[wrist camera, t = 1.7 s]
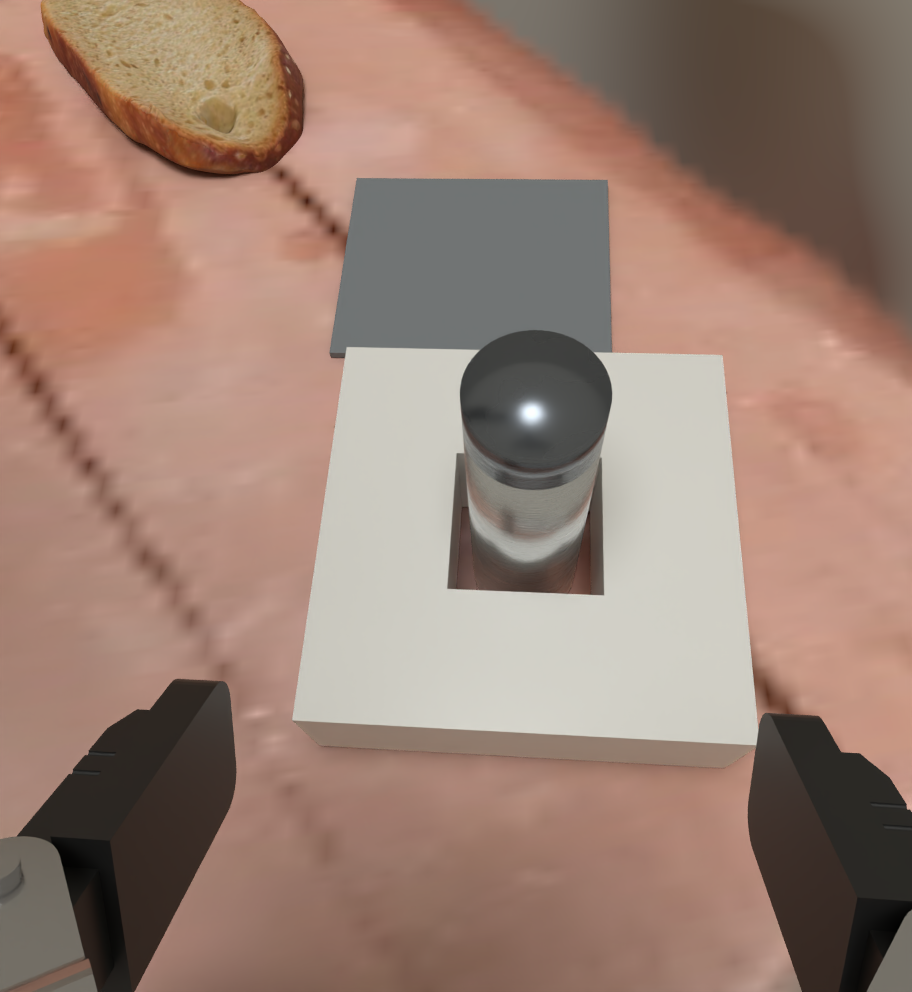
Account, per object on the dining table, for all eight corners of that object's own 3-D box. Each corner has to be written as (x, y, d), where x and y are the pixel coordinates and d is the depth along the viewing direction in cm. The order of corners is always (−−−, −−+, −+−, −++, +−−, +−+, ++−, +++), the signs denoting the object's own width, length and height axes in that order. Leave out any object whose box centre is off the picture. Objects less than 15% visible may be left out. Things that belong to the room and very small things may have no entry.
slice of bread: (57, 2, 57) (29, -55, 54) (319, -12, 57) (307, -71, 53) (-4, 196, 49) (-41, 143, 46) (299, 182, 49) (284, 128, 45)
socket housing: (319, 745, 34) (291, 720, 29) (363, 408, 41) (346, 346, 36) (724, 768, 33) (759, 745, 28) (697, 417, 40) (722, 355, 35)
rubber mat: (331, 357, 42) (329, 352, 42) (357, 183, 48) (356, 178, 47) (611, 363, 41) (611, 359, 41) (606, 185, 47) (607, 179, 46)
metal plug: (471, 614, 36) (455, 455, 23) (476, 521, 38) (464, 328, 25) (574, 619, 36) (613, 460, 23) (574, 524, 38) (610, 331, 25)
